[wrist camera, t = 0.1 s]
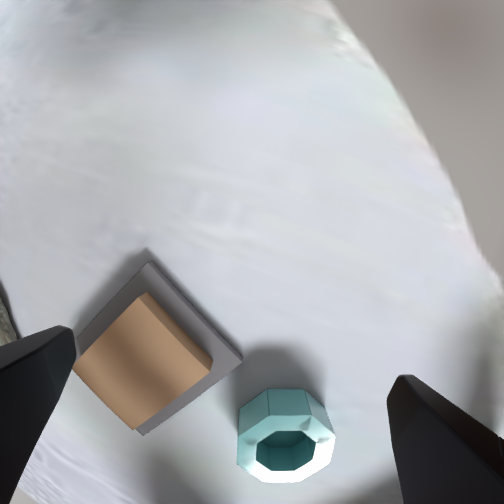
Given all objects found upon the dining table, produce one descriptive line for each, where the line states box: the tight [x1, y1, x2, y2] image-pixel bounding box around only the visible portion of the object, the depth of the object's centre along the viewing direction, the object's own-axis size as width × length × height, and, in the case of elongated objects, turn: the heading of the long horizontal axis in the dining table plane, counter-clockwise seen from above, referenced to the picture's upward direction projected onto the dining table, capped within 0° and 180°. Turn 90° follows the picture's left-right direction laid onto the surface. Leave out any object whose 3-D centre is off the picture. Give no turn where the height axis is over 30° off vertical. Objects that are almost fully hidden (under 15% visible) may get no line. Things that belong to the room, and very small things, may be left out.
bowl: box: [237, 389, 336, 482], centre depth 22 cm, size 7×7×4 cm
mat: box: [75, 261, 243, 436], centre depth 23 cm, size 12×10×1 cm
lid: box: [72, 292, 214, 430], centre depth 21 cm, size 9×7×2 cm
